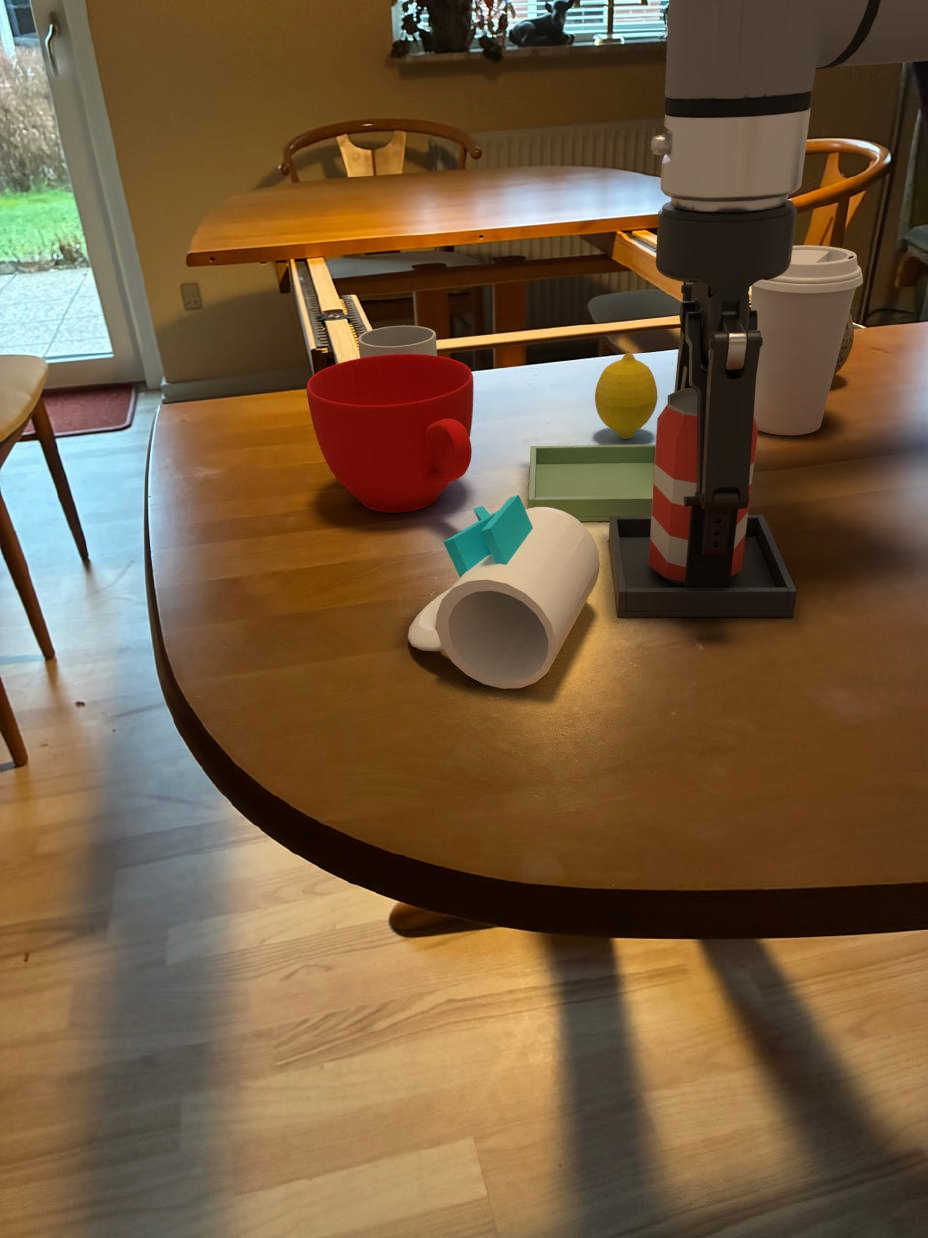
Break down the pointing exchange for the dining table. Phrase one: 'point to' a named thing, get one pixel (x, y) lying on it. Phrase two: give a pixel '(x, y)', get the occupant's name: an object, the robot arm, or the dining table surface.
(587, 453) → the green tray
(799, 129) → the robot arm
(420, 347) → the cup
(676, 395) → the beverage can
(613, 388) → the fruit
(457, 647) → the mug
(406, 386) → the ceramic cup
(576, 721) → the dining table surface
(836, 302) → the coffee cup
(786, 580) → the charcoal tray
